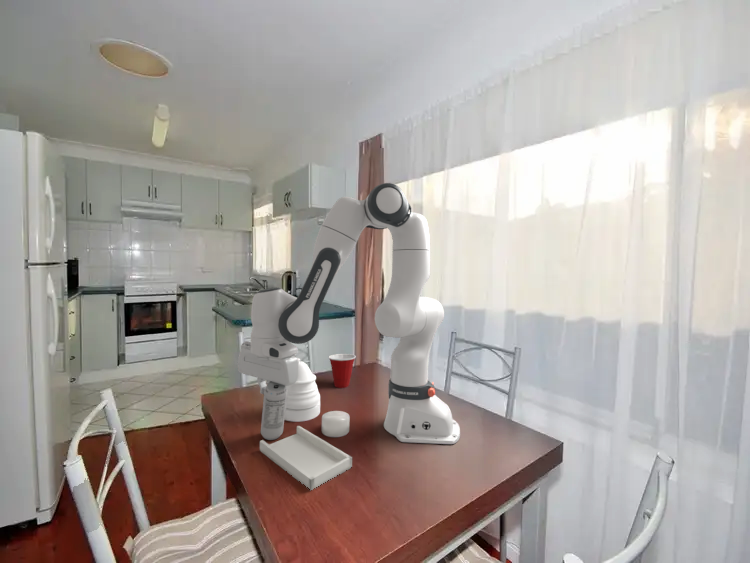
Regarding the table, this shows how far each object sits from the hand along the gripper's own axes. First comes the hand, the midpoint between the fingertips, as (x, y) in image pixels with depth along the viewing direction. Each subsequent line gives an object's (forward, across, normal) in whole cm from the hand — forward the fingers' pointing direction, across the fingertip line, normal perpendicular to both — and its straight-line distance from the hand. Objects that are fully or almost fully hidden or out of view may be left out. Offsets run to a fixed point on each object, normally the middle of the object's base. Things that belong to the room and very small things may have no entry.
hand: (266, 393), depth 97 cm
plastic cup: (+11, -3, +43) cm, 44 cm away
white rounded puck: (+11, +16, +12) cm, 23 cm away
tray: (+11, +18, -4) cm, 21 cm away
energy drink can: (+11, +3, 0) cm, 11 cm away
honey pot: (+11, -1, +15) cm, 19 cm away
